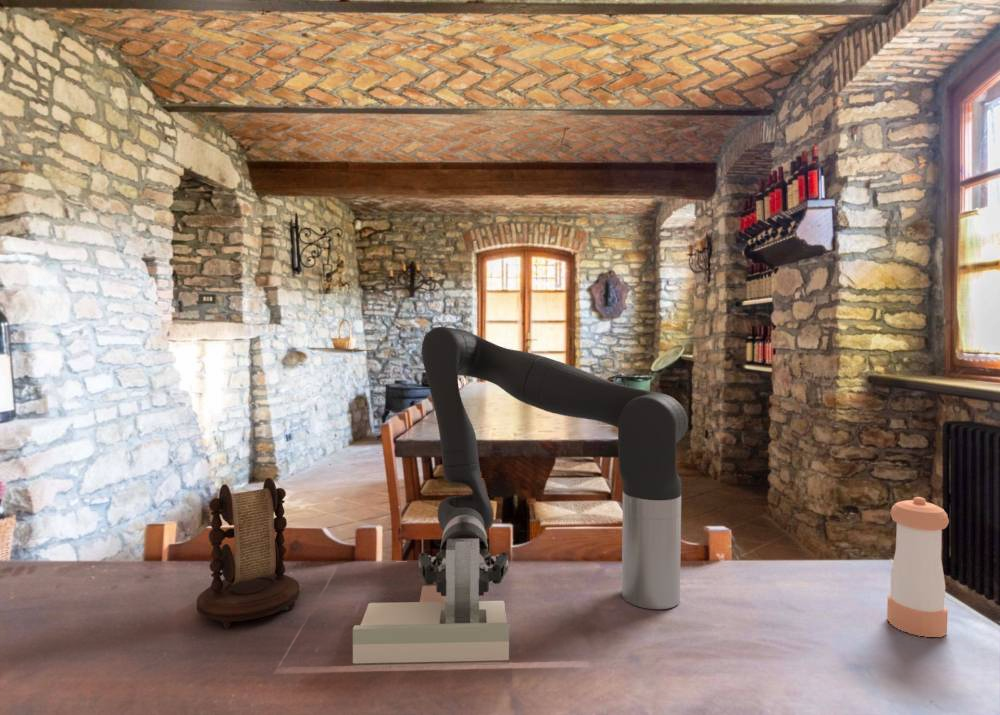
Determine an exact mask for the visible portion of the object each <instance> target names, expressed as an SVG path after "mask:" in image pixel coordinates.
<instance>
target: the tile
mask: <svg viewBox="0 0 1000 715" xmlns="http://www.w3.org/2000/svg"><path fill="white" fill-rule="evenodd" d="M420 593H421V594H420V597H419V602H446V596H441V593H437V591H436V585H422V588H421V592H420Z"/></svg>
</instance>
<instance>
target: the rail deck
mask: <svg viewBox="0 0 1000 715" xmlns="http://www.w3.org/2000/svg"><path fill="white" fill-rule="evenodd" d="M506 615H507V613H506V606H505V601H504V600H479V623H458V624H446V602H420V601H415V602H414V601H411V602H410V601H408V602H406V601H402V602H369V603H368V604H367V607H366V610H365V612H364V615H363V618H362V621H361V623H360V624H357V625H356V624H355V625H354V626H353V627H352V664H353V665H352V668H353V669H354V668H360V669H361V668H398V667H399V668H401V667H404V668H405V667H442V666H443V667H444V666H448V667H449V666H453V667H454V666H485V665H486V666H488V665H489V666H491V665H494V666H495V665H497V666H498V665H510V662H509V660H510V622H507V616H506ZM478 661H479V662H478ZM480 661H482V662H480ZM485 661H486V662H485ZM487 661H488V662H487ZM489 661H490V662H489ZM492 661H493V662H492ZM498 661H499V662H498ZM432 662H433V663H432ZM434 662H435V663H434ZM437 662H439V663H437ZM441 662H442V663H441ZM443 662H444V663H443ZM446 662H447V663H446ZM388 663H389V664H388ZM390 663H391V664H390ZM394 663H397V664H394ZM399 663H400V664H399Z"/></svg>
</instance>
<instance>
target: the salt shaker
mask: <svg viewBox="0 0 1000 715" xmlns="http://www.w3.org/2000/svg"><path fill="white" fill-rule="evenodd" d="M890 516H891V518H892V520H893V521H894V522H895V523H896V532H895V533H896V536H895V537H896V538H895V540H896V541H895V552H894V557H893V560H892V561H893V562H892V566H891V570H890V594H889V595H888V596H887V605H886V606H887V609H886V612H887V613H886V621H887V620H888V621H889V622H890V623H891V624H892V625H893V626H894V627H896V628H899V629H900V630H903V631H905V632H908V633H911V634H915V635H919V636H918V637H920V636H926V637H941V636H944V635H946V633H947V634H948V609H947V607H946V606H945V602H946V601H945V600H946V599H945V598H946V580H945V575H944V569H943V568H944V566H943V562H942V538H943V537H942V535H943V534H942V533H943V531H942V530H945V529H946V528H948V525H949V523H950V519H949V517H948V513H947V512H946V511H945V510H944V508H942V507H940V506H938V505H936V504H934V503H931V502H927V500H926V499H925V498H924V497H922V496H915V497H913V498H912V499H911V500H910V499H909V500H908V499H907V500H902V501H898V502H895V503H894V504H893V505H892V507H891V509H890ZM888 621H887V622H888ZM892 625H891V626H892ZM893 626H892V627H893ZM894 627H893V628H894ZM896 628H895V629H896ZM900 630H899V631H900ZM903 631H902V632H903ZM905 632H904V633H905ZM908 633H907V634H908ZM911 634H910V635H911ZM915 635H914V636H915ZM946 636H947V635H946ZM926 637H925V638H926ZM944 637H945V636H944ZM941 638H942V637H941Z"/></svg>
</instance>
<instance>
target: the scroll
mask: <svg viewBox="0 0 1000 715" xmlns="http://www.w3.org/2000/svg"><path fill="white" fill-rule="evenodd" d="M286 496H287V493H286V490H285V489H284V488H283V487H278V488H277V485H276V484H275V481H274V479H272V477H266V479H265V480H264V482H263V486H262V488H260V489H253V490H249V491H247V490H246V491H243V492H241V491H240V492H236V493H231V490H230V487H229V485H227V484H226V483H224V484H222V485H221V486H220V489H219V494H218V497H214V498H212V499H211V500H210V502H209V504H208V507H209V510H211V512H210V515H211V516H212V519H211V522H210V527H211V530H210V531H209V532H208V540H209V543H210V545H211V546H212V549H211V554H210V556H211V558H212V560H211V561H210V563H209V569H210V571H211V572H212V573H211V574H210V575H211V577H212V578H213V579H212V582H211V584H210V586H208V587H207V588H206V589H205V590H203V591H202V592H201V593H200V594H199V595H198V597H197V599H196V612H197V613H198V615H200V616H201V617H202V618H204V619H207V620H212V621H217V622H222V623H223V624H222V625H223V627H224V629H225V630H229V629H230V627H231V625H232V622H240V621H241V622H242V621H250V620H255V619H258V618H263V617H267V616H271V615H273V614H275V613H278V612H281V611H282V610H284V609H285V610H286V608H288V609H289V610H290V611H292V610H294V608H295V605H296V601H297V600H298V598H299V596H300V588H301V587H300V583H299V582H298V580H296V579H295V578H294V577H291V576H289V575H287V574H285V572H286V567H285V564H284V561H285V559H286V558H285V557H284V556H285V555H286V554H287V548H286V546H285V545H284V544H285V542H286V540H285V536H284V533H283V532H285V529H286V527H287V526H288V524H287V523H288V520H287V518H286V517H285V516H284V515H285V513H286V512H285V508H284V504H285V500H284V499H285V497H286ZM220 515H221V516H220ZM222 520H223V521H224V522H226V523H227V524H228V526H229V527H230V528H228V529H226V531H225V530H224V529H223V528H221V527H222V526H223V522H222ZM231 526H233V527H232V528H231ZM275 533H276V534H275ZM226 538H227V539H233V538H234V555H233V552H232V549H231V547H230V545H229V544H227V543H224V545H223V541H224V540H225V539H226ZM221 545H223V546H222V547H221ZM221 576H223V578H224V579H222V578H221Z"/></svg>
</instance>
